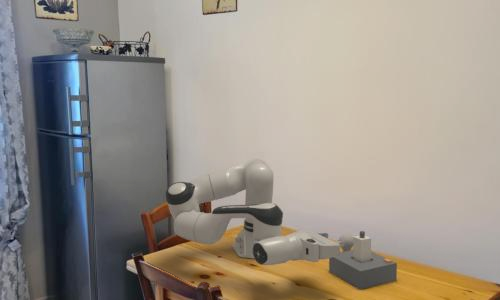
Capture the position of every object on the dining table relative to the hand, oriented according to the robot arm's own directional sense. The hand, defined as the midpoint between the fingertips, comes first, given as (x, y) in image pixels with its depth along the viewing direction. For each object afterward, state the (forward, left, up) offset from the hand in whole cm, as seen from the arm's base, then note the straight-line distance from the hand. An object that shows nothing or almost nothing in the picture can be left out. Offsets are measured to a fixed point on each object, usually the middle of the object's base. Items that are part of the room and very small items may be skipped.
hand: (335, 238), depth 161 cm
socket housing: (-1, +12, -16) cm, 20 cm away
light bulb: (-18, +18, -16) cm, 30 cm away
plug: (-1, +12, -14) cm, 18 cm away
